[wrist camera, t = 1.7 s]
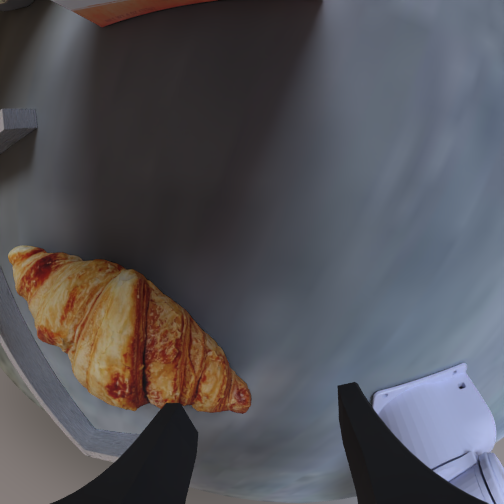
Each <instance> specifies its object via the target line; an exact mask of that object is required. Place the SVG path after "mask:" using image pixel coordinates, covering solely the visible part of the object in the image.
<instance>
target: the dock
mask: <svg viewBox="0 0 504 504" xmlns="http://www.w3.org/2000/svg"><path fill="white" fill-rule="evenodd" d="M36 128H38V126H37V119H36V111H35V109H1V110H0V154H1V153H2V152H4V151H5V150H6V149H8V148H9V147H10V146H12V145H13V144H14V143H16V142H17V141H19V140H20V139H21V138H23V137H24V136H26V135H27V134H29V133H30V132H32V131H33V130H35V129H36ZM0 343H1V345H2V347H3V348H4V350H5V352H6V354H7V355H8V357H9V359H10V360H11V362H12V363H13V365H14V367H15V368H16V370H17V371H18V373H19V374H20V376H21V377H22V379H23V380H24V382H25V383H26V385H27V386H28V388H29V389H30V390H31V392H32V393H33V395H34V396H35V397H36V399H37V400H38V401H39V403H40V404H41V405H42V407H43V408H44V409H45V410H46V412H47V413H48V414H49V415H50V417H51V418H52V419H53V420H54V421H55V423H56V424H57V425H58V426H59V427H60V429H61V430H62V431H63V432H64V433H65V434H66V435H67V436H68V438H69V439H70V440H71V441H72V442H73V443H74V444H75V445H76V446H77V447H78V448H79V449H80V450H81V451H82V452H83V453H84V454H85V455H86V456H90V457H94V458H98V459H103V460H107V461H112V462H115V461H116V460H117V459H118V458H119V457H120V456H121V455H122V454H123V453H124V452H125V451H126V450H127V449H128V448H129V447H130V446H131V445H132V444H133V442H134V441H135V440H136V439H137V438H138V437H139V435H137V434H128V433H120V432H113V431H106V430H99V429H95V428H94V427H93V425H92V424H91V423H90V422H89V421H88V419H87V418H86V417H85V416H84V414H83V413H82V412H81V410H80V409H79V408H78V406H77V405H76V404H75V402H74V401H73V400H72V398H71V397H70V396H69V394H68V393H67V391H66V390H65V388H64V387H63V386H62V384H61V383H60V381H59V380H58V378H57V377H56V375H55V374H54V372H53V370H52V369H51V367H50V366H49V364H48V362H47V361H46V359H45V358H44V356H43V354H42V353H41V351H40V349H39V347H38V346H37V344H36V342H35V340H34V338H33V337H32V335H31V333H30V331H29V329H28V327H27V325H26V323H25V321H24V319H23V317H22V315H21V313H20V311H19V309H18V307H17V305H16V303H15V301H14V298H13V296H12V294H11V292H10V289H9V287H8V284H7V282H6V280H5V277H4V275H3V272H2V269H1V267H0Z"/></svg>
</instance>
